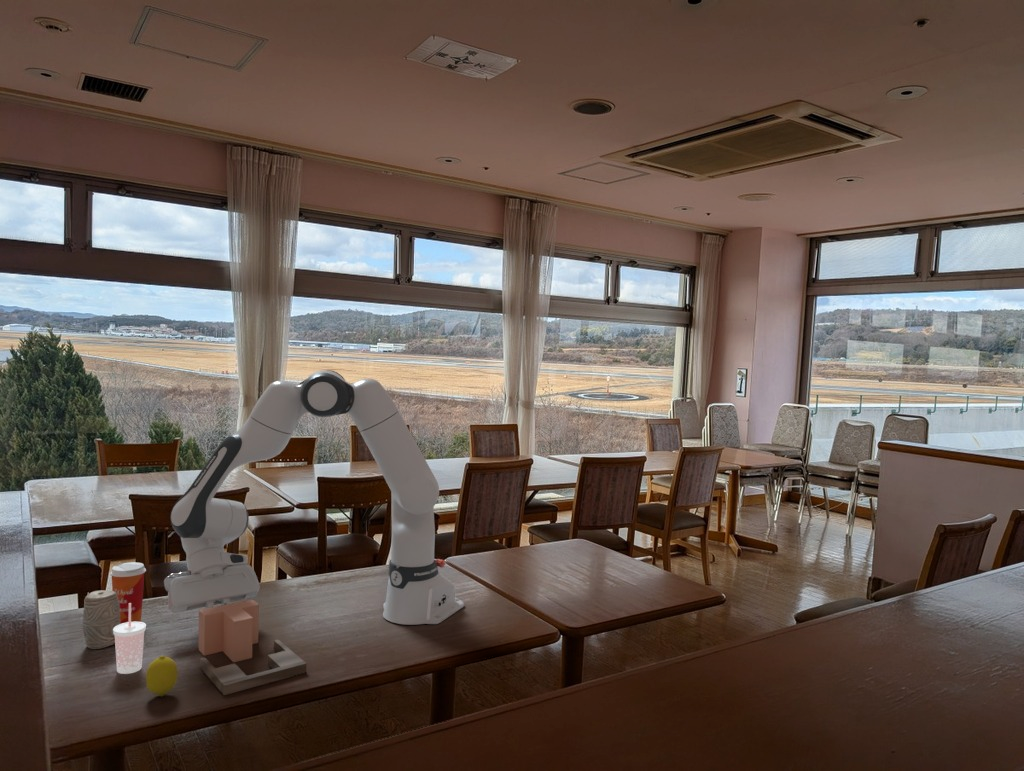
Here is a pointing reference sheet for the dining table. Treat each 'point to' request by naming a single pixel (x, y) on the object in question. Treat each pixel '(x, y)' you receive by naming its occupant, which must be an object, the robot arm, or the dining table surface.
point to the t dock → (237, 680)
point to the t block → (229, 629)
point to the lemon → (161, 675)
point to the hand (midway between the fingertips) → (221, 620)
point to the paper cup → (129, 589)
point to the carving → (100, 618)
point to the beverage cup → (129, 645)
